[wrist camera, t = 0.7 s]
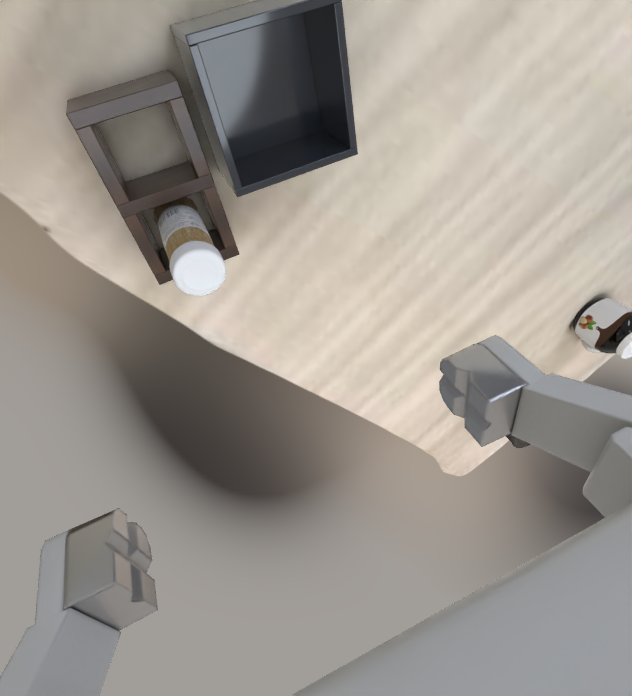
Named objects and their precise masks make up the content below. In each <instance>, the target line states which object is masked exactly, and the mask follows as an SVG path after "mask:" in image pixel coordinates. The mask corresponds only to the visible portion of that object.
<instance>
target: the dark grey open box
mask: <svg viewBox="0 0 632 696" xmlns="http://www.w3.org/2000/svg"><path fill="white" fill-rule="evenodd" d="M341 1H342V0H257V1H253V2H249V3H246V4H242V5H239V6H235V7H232V8H228V9H225V10H221V11H218V12H214V13H211V14H207V15H204V16H200V17H197V18H193V19H189V20H186V21H182V22H179V23H175V24H172V25H170V28H171V31H172V34H173V37H174V40H175V43H176V46H177V49H178V52H179V55H180V58H181V61H182V64H183V66H184V69H185V72H186V75H187V78H188V81H189V84H190V87H191V90H192V93H193V96H194V99H195V102H196V105H197V108H198V110H199V113H200V116H201V119H202V122H203V125H204V128H205V131H206V134H207V137H208V140H209V143H210V146H211V149H212V152H213V155H214V157H215V160H216V163H217V166H218V169H219V171H220V172H221V174H222V175H223V177H224V178H225V180H226V181H227V183H228V184H229V185H230V187H231V188H232V190H233V191H234V193H235V194H236V195H237V197H239V196H242V195H245V194H248V193H251V192H253V191H256V190H259V189H262V188H264V187H267V186H270V185H273V184H276V183H278V182H281V181H284V180H287V179H290V178H292V177H295V176H298V175H301V174H304V173H306V172H309V171H312V170H315V169H318V168H320V167H323V166H326V165H329V164H331V163H334V162H337V161H340V160H343V159H345V158H348V157H351V156H354V155H357V154H358V152H357V143H356V134H355V124H354V115H353V105H352V95H351V86H350V76H349V66H348V57H347V47H346V37H345V28H344V18H343V9H342V2H341Z"/></svg>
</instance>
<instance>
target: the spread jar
mask: <svg viewBox="0 0 632 696" xmlns="http://www.w3.org/2000/svg"><path fill="white" fill-rule="evenodd" d="M574 330H575V333H576V334H577V335H578V336H579V337H580V338H581V342H582V344H583V346H584V348H585V349H586V350H587V351H590V352H594V353H599V352H603V353H616V354H617V355H619V356H620V357H622V358H623V359H626V358H629V357H631V356H632V310H631V309H630V308H628V307H627V306H625V305H623V304H622V303H620V302H618V301H616V300H613V299H610V298H600V299H596V300H594V301H592V302H590V303H588V304H587V305H586V306H584V307H583V308H582V309H581V311H580V312H579V313H578V315H577V316H576V319H575V322H574Z"/></svg>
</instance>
